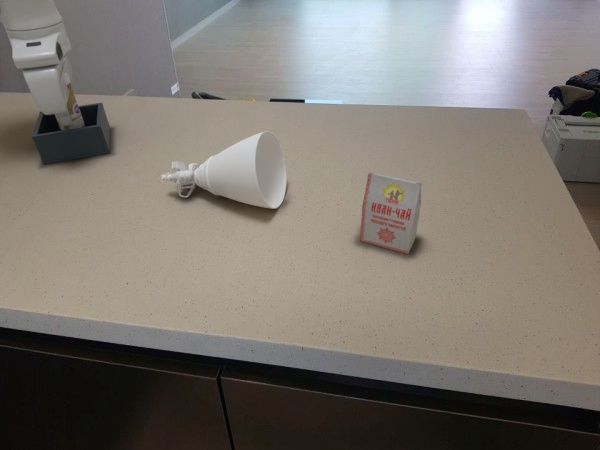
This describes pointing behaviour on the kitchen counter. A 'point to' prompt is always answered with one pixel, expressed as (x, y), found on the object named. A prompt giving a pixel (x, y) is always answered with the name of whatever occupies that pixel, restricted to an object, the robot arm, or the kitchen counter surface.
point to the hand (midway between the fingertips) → (69, 118)
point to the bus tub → (73, 136)
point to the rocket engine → (239, 172)
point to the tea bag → (390, 212)
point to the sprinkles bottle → (71, 108)
